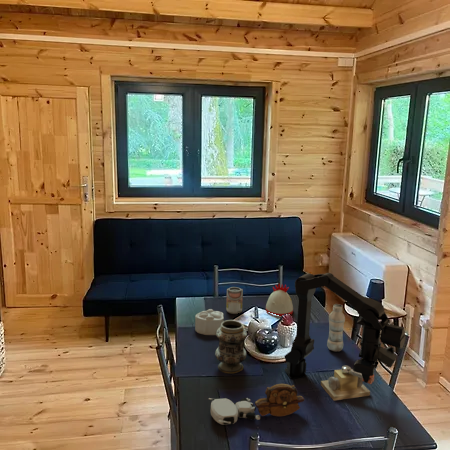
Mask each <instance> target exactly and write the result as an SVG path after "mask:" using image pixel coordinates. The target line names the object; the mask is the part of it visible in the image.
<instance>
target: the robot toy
mask: <svg viewBox="0 0 450 450" xmlns="http://www.w3.org/2000/svg"><path fill="white" fill-rule="evenodd" d="M208 400H210V401H211V403H210V416H211V417H212V418H213V420H214V421H215V422H217V424H220V425H222V426H223V425H225V426H226V425H234V424H235V423H237V421H238V418H240V419H242V418H243V419H248V420H250V421H255V420H257V421H258V420H261V415H259V414H256V413H255V412H256V409H257V407H256V405H255V404H254V403H253V402H251V399H250V398H248V397H243V398H241V399H240V400H239V401H236V402H233V401H232V400H230V399H228V398H226V397H225V398H210V397H209V398H208Z"/></svg>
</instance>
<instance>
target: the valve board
mask: <svg viewBox="0 0 450 450" xmlns="http://www.w3.org/2000/svg"><path fill="white" fill-rule="evenodd" d="M363 383H364V381H363V379H362V378H359V377H357V376H354V375H351V374H344V373H342V368H340V369H334V371H333V376H330V377H328V379H326V380H320V386H321V387H322V389H323V390H324V391H325V392H326V393H327V394H328V395H329V397H330V398H331V399H332V400H333V401H341V400H347V399H355V398H361V397H362V398H363V397H368V396H371V390H369V388H367V387H366V386H365V384H363Z"/></svg>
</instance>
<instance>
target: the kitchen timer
mask: <svg viewBox="0 0 450 450" xmlns="http://www.w3.org/2000/svg"><path fill="white" fill-rule="evenodd" d="M289 288H290V287H289V286H288V287H287V284H284V285H283V284H280V283H278V285H277V284H275V287H274V286H272V290H273V292H272V293H271V294H270V295H269V296H268V299H267V301H266V305H265V312H266V311H267V312H270V313H273V314H276V315H279V316H282V315H284V314H287V313H288V314H291V315H293V312H294V306H293V301H292V298H291V297H290V294H288V290H289ZM267 312H266V313H267Z"/></svg>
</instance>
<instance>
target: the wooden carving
mask: <svg viewBox="0 0 450 450" xmlns="http://www.w3.org/2000/svg"><path fill="white" fill-rule="evenodd" d="M264 393H265V395H266V397H262V398H258V399H257V400H256V401H255V402H254V406H255V407H256V409H257V410H258V413H259V414H260V417H261V416H262V417H264V416H266V415H268V414H270V415H271V416H274V417H285V416H289V415H292V414H294V413H295V412H297V411H299V410H300V408H301V407H300V405H299V404H300V403H303V402H305V398H304V397H303V396H302V395H298V389H297V388H296V387H295V385H294V384H292V385H290V384H288V383H277V384H274V385H272V386H270V387H268V386H267V387H266V389H265V391H264Z"/></svg>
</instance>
